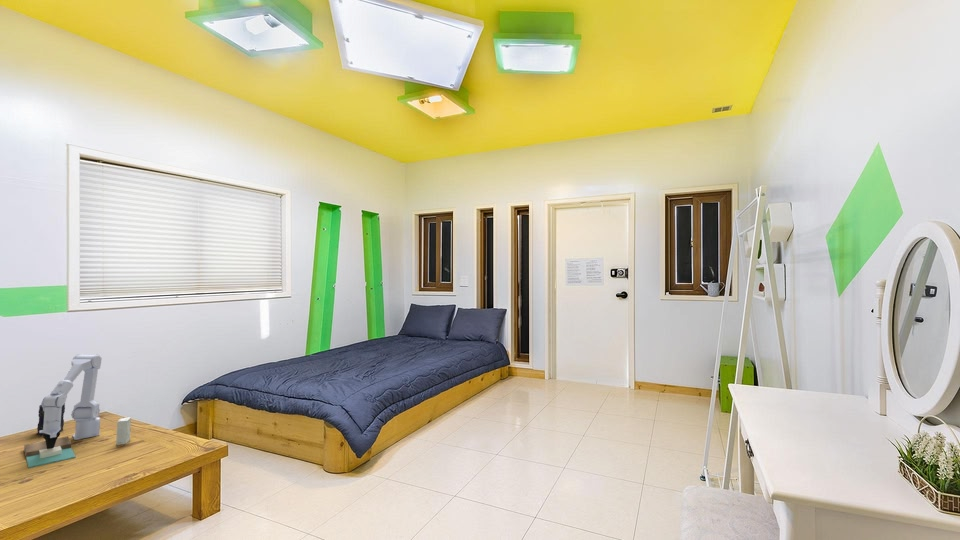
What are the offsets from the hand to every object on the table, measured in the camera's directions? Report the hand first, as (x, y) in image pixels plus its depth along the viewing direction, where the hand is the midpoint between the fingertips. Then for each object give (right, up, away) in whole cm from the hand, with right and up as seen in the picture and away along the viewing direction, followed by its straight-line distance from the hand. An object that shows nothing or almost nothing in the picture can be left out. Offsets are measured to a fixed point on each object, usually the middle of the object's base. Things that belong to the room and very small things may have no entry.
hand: (50, 448), depth 194 cm
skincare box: (+19, -5, +17) cm, 27 cm away
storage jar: (-26, -2, +24) cm, 36 cm away
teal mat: (+3, -3, -3) cm, 6 cm away
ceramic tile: (+1, -3, -1) cm, 3 cm away
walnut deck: (-7, -3, +5) cm, 9 cm away
